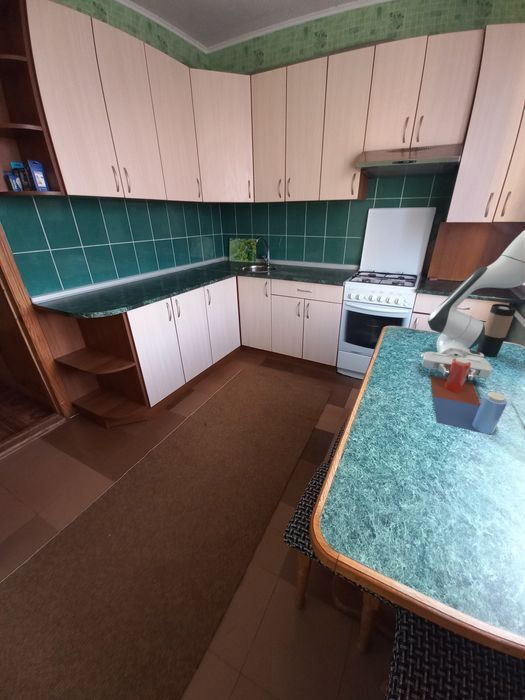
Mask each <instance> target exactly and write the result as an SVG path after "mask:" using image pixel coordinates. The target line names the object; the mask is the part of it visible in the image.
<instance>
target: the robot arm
mask: <svg viewBox="0 0 525 700" xmlns="http://www.w3.org/2000/svg"><path fill="white" fill-rule="evenodd" d="M524 284H525V229H524V230H523V231H522V232H521V233H519V235H517V236H516V237H515V239H513V240H512V241H511V242H510V243H509V245H507V247H506V248H505V249H504V251H503V252H502V253H501V255H500V256H499V257H497V259H496V260H495V261H494V262H492V263H491V264H489V265H488V266H482V267H479V268H478V269H476V270H475V271H474V272H473V273H471V274H470V275H469V276H468V277H467V278H466V279H464V281H463V282H462V283H461V284H459V286H458V287H457V288H456V289H455V290H454V291H453V292H452V293H451V294H450V295H449V296H448V297H447V298H446V299H445V300H444V301H443V302H442V303H440V305H438V306H437V307H436V308H434V310H432V311H431V313H430V314H429V316H428V318H427V323H428V326H429V328H430V330H431V331H434V332H437V333H439V336H438V338H437V340H436V352H435V351H425V352H421V354H420V357H421V358H422V361H421V367H423V369H424V368H425V369H430V370H435V371H439V372H440V373H442V376H445V377H447V376H448V374H449V370H450V367H451V364H452V361H453V359H456V358H458V357H461V358H465V359H467V360H469V362H470V363H471V366H470V369H469V371H468V374H467V377H466V380H468V381H473V379H474V377H475V378H481V379H486V380H487V379H489V378H490V377H491V376H492V373H493V371H494V370H493V366H492V365H491V363H490V361H488V359H486V358H485V356H484V354H482V353H479V352H477V351H476V350H472V349H474V348H475V347H477V346H478V344H479V343H480V341H481V340H482V339H483V337H484V335H485V322H484V321H482V320H480V319H478V318H476V317H473V316H471V315H468V314H466V313H464V312H462V311H459V310H457V307H459V306H460V305H461V304H462V303H463V302H464V301H465V300H466V299H467V298H468V297H469V296H470V295H471V294H472V293H473V292H474V291H476V290H479V289H483V288H493V289H494V288H495V289H512V288H516V287H519V286H522V285H524Z"/></svg>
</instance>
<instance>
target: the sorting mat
mask: <svg viewBox="0 0 525 700" xmlns="http://www.w3.org/2000/svg"><path fill="white" fill-rule="evenodd" d="M446 379H447V377H441V376H437V375H436V376H435V375H430V384H431V391H432V397H433V398H432V399H433V405H434V406H433V407H434V414H435V421H436V423H437V424H442V425H446V426H450V427H455V428H458V429H463V430H467V431H472V432H475V433H481V434H485V433H482V432H479V431H477V430H476V429H475V428H474V427H473V426H472V423H473V421H474V418H475V416H476V413H477V411H478V408H479V406H480V403H481V401H480V400H479V399H480V398H479V397H478V393H477V391H476V388H475V385H474V383H473V382H468V381H465V382H464V385H463V388H462V391H461V392H452V391H449V390H447V389H446V388H445V387H444V385H445V382H446ZM485 435H486V434H485ZM487 435H489V436H492V434H487Z"/></svg>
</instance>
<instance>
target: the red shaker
mask: <svg viewBox="0 0 525 700" xmlns="http://www.w3.org/2000/svg"><path fill="white" fill-rule="evenodd" d="M470 366H471V363H470V362H469V360H467V359H465V358H461V357H458V358H456V359H453V361H452V364H451V367H450V370H449V374H448V376H446V378H447V379H446V382H445V385H444V387H445V388H446V389H447V390H449V391H452V392H461V391H462V388H463V385H464V382H466V380H467V378H466V377H467V374H468V371H469V369H470Z"/></svg>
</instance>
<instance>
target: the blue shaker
mask: <svg viewBox="0 0 525 700" xmlns="http://www.w3.org/2000/svg"><path fill="white" fill-rule="evenodd" d="M507 405H508V400H507V399H506V397H505V396H504V394H502V393H499V392H496V391H489V392H486V393H484V394H483V396H482V399H481V401H480V406H479V408H478V411H477V413H476V416H475V418H474V421H473V423H472V426H473V427H474V428H475V429H476V430H477V431H479V432H478V433H480V432H482V433H481V434H484V433H485V435H488V434H491V435H492V434H494V432H495V431H496V428H497V426H498V424H499V422H500V420H501V417H502V415H503V413H504V411H505V409H506V407H507Z"/></svg>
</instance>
